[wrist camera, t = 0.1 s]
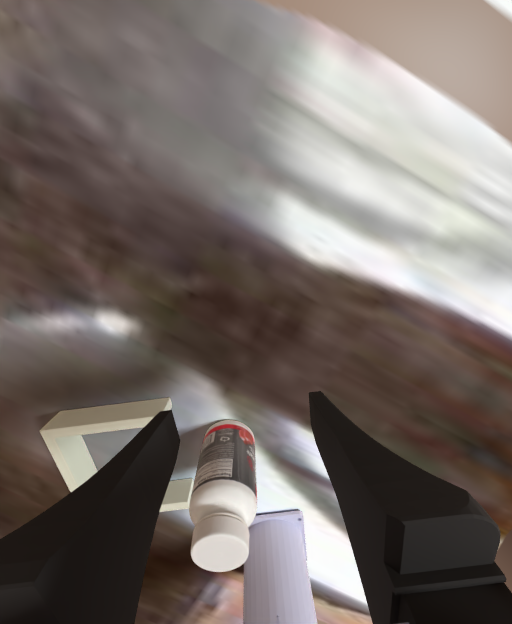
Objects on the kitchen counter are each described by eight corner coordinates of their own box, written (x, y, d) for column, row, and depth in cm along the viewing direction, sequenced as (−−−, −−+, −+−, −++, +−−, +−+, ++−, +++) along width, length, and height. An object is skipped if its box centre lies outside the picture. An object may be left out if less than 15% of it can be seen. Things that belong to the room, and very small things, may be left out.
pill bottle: (261, 449, 26) (269, 568, 17) (216, 463, 26) (199, 586, 17) (244, 411, 24) (241, 519, 15) (195, 426, 25) (164, 541, 16)
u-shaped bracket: (194, 484, 27) (189, 508, 25) (99, 496, 27) (85, 520, 25) (169, 397, 24) (161, 415, 21) (60, 410, 24) (39, 430, 21)
